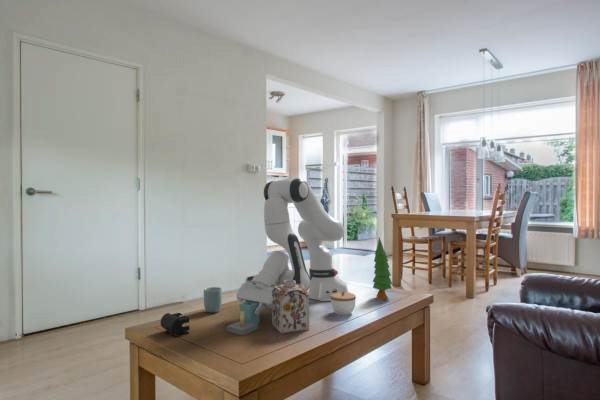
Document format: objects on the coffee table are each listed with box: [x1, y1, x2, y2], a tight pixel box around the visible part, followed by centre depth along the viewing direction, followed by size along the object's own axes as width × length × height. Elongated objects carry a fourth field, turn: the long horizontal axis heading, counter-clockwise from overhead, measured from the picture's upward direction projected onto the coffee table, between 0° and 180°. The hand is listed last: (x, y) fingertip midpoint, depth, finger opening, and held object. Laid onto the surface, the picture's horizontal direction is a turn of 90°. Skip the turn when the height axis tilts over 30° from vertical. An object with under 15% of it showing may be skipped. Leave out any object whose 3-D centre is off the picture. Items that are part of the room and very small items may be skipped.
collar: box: [239, 301, 260, 325], centre depth 158 cm, size 5×5×8 cm
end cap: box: [160, 312, 190, 337], centre depth 149 cm, size 10×7×7 cm
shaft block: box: [226, 311, 258, 336], centre depth 150 cm, size 8×8×7 cm
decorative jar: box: [271, 280, 311, 334], centre depth 153 cm, size 12×12×18 cm
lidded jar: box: [330, 291, 357, 316], centre depth 171 cm, size 11×11×9 cm
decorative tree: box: [372, 237, 393, 300], centre depth 195 cm, size 10×9×30 cm
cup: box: [203, 286, 223, 314], centre depth 176 cm, size 8×8×10 cm
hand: (248, 312), depth 158 cm, fingers closed on collar, 5 cm apart
